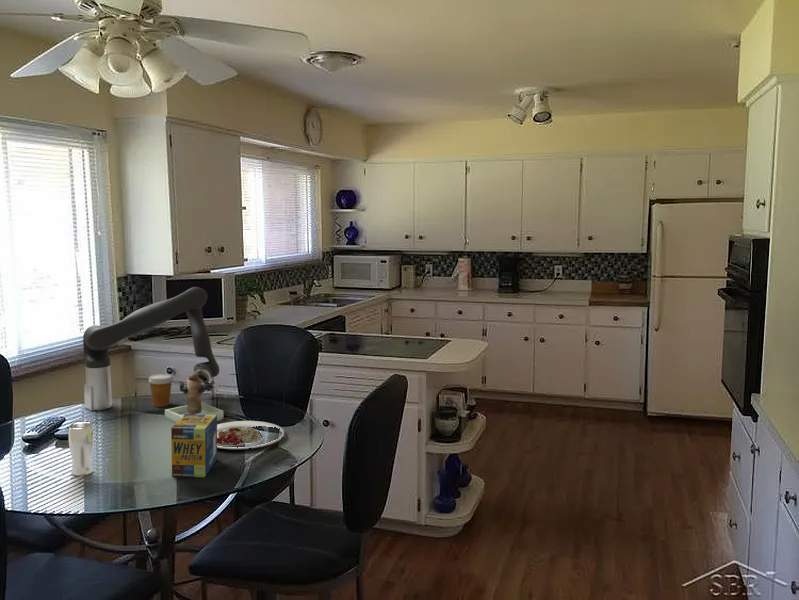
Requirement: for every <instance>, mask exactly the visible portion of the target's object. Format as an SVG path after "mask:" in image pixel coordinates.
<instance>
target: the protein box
mask: <svg viewBox="0 0 799 600" xmlns="http://www.w3.org/2000/svg"><path fill="white" fill-rule="evenodd" d="M217 424H218V421H217V415H206V414H185V415H184V416H183V417H182V418H181V419H180V420H179V421H178V422H177V423H174V425H173V426H172V427H171V429H170V430H171V431H170V432H171V433H170V434H171V436H170V437H171V438H170V439H171V443H170V444H171V446H170V447H171V450H170V451H171V477H172V478H173V477H175V478H176V477H177V478H179V477H180V478H181V477H182V478H206V477H205V476H207V475H208V474H209V473H210V471H211V469H212V468H213V466H214V465H215V464H216V462H217V461H216V460H218V448H217ZM215 461H216V462H215ZM214 463H215V464H214ZM213 464H214V465H213ZM211 467H212V468H211ZM210 468H211V469H210ZM209 470H210V471H209ZM207 473H208V474H207Z"/></svg>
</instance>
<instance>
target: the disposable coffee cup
mask: <svg viewBox="0 0 799 600" xmlns="http://www.w3.org/2000/svg"><path fill="white" fill-rule="evenodd" d="M173 380H174V378H173V377H172V375H171V374H168V373H157V374H152V375H150V376H149V378H148V383H149V386H150V394H151V399H152V400H151V401H152V406H153V407H157V408H162V407H168V406H169V405H170V402H171V401H170V398H171V389H172V382H173Z"/></svg>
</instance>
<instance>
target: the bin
mask: <svg viewBox="0 0 799 600" xmlns="http://www.w3.org/2000/svg"><path fill="white" fill-rule="evenodd" d="M185 414H189V413H188V411H187V404H185V405H180V406H176V407H173V408H172V407H171V408H166V409H164V419H165V420H168V421H170V422H172V423H173V424H176V423H177V422H178V421H179V420H180V419H181V418H182V417H183V416H184V415H185ZM198 414H206V415H217V422H218V421H223V420H224V410H223V409H221V408H218V407H215V406H212V405H210V404H207V403H205V402H202V401H201V413H198ZM222 419H223V420H222Z"/></svg>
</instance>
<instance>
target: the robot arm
mask: <svg viewBox="0 0 799 600" xmlns="http://www.w3.org/2000/svg"><path fill="white" fill-rule="evenodd" d="M207 301H208V293H207V291H206V290H205V289H203V288H201V287H199V286H192V287H190V288H188V289H187V290H185V291H183V292H182V293H180V294H178V295H176V296H174V297H172V298H168V299H164V300H160V301H158V302H154V303H151V304H148V305H146V306H144V307H141V308H139V309H137V310H134V311H133V312H131V313H130V314H129V315H127V316H126V317H124V318H123V319H122V320H120V321H118V322H115V323H112V324H110V325H107V326H106V325H105V326H101V325H97V324H95V325H90V326H89V327H87V328H86V329H85V331H84V333H83V337H82V343H83V344H82V345H83V357H84V364H85V384H84V385H83V389H84V390H83V391H84V392H83V393H84V395H83V396H84V408H85V409H86V410H89V411H99V410H106V409H109V408H111V407H112V405H113V404H112V402H113V401H112V377H111V374H112V373H111V372H112V371H111V357H110V354H109V347H111V346H113V345H115V344H117V343H119V342H121V341H123V340H125V339H126V338H130V337H131V336H133V337H134V336H135V335H138V334H140V333H142V332H146V331H148V330H150V329H153V328H155V327H159V326H160V325H162V324H164V323H166V322H168V321H169V320H171V319H172V318H174V317H176V316H178V315H180V314H182V313H186V316H187V319H188V323H189V327H190V332H191V337H192V343H193V344H192V345H193V350H194V354H195V357H196V358H205V359H207V361H204V362H203V361H202V362H199V363H196V364H195V365H194V367H193V373H197V374H199V378H200V379H201V387H200V394H201V395H202V394H203V393H205V392H206V391H207V392H210V391H211V392H212V390H214V389H215V387H216V386H215V385H216V384H215V383H216V382H215V381H214V380H212V381H211V379H212V378H216V377H217V376H218V375H219V374H220V366H219V363H218V362H217V360H216V358H215V356H214V353H213V350H212V345H211V344H212V343H211V339H210V335H209V332H208V329H207V325H206V324H205V321H204V316H203V307H204V306H205V304H206V303H207ZM179 391H180V392H182V393H184V395H187V382H184V381H179Z"/></svg>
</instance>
